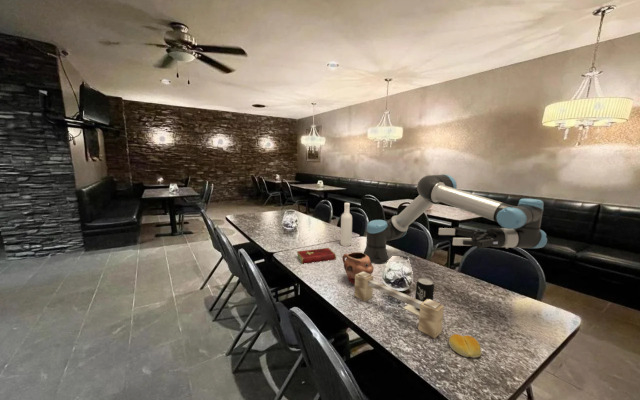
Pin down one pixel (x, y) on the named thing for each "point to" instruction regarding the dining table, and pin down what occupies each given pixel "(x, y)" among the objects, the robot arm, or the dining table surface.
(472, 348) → the bread roll
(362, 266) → the brown sculpted mug
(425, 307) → the handrail
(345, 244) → the bottle
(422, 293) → the beverage can
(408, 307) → the pad
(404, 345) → the dining table surface
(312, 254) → the hardcover book
